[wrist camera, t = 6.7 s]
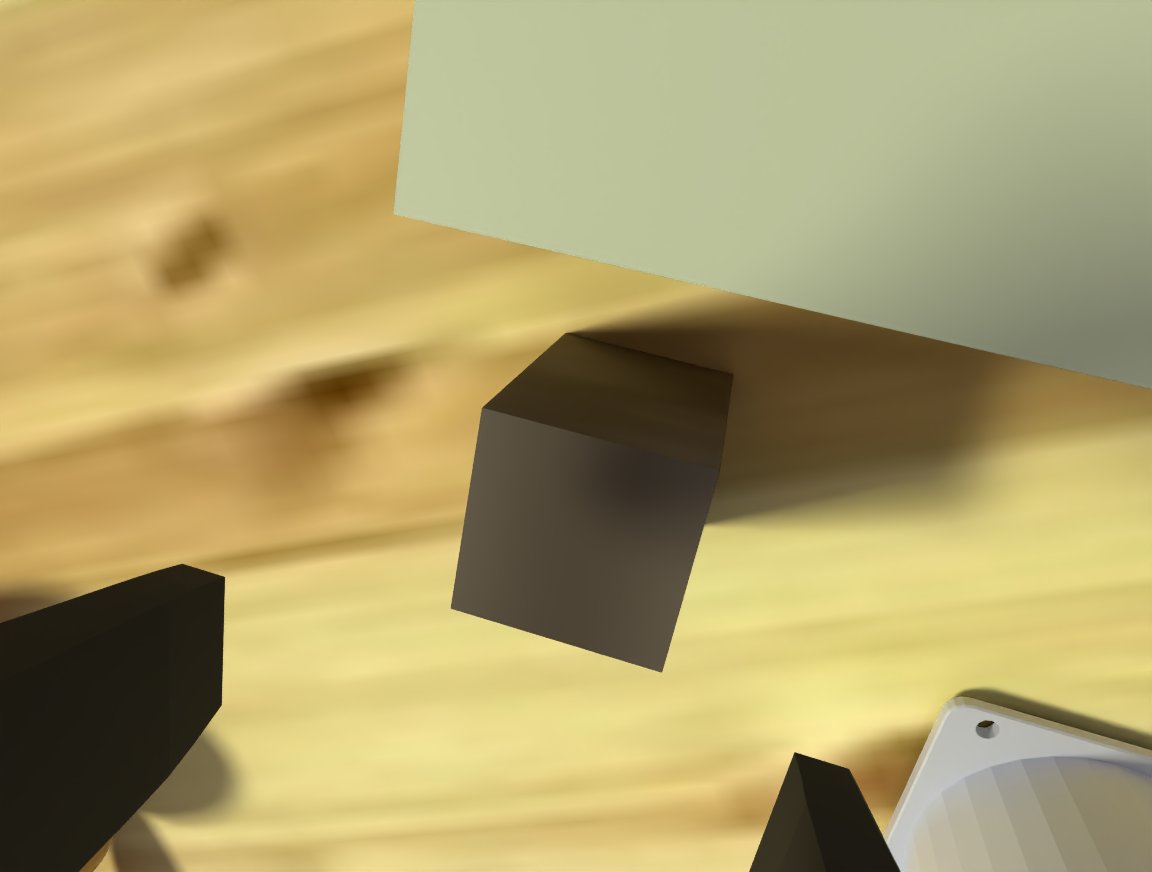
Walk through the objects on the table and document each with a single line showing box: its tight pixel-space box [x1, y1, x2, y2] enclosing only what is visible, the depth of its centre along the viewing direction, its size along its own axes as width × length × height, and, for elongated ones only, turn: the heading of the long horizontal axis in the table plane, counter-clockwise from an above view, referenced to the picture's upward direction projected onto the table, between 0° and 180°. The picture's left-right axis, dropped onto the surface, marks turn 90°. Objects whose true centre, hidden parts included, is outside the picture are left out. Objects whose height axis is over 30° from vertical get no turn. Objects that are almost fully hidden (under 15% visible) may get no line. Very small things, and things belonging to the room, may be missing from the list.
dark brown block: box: [451, 333, 733, 672], centre depth 16 cm, size 4×4×6 cm
